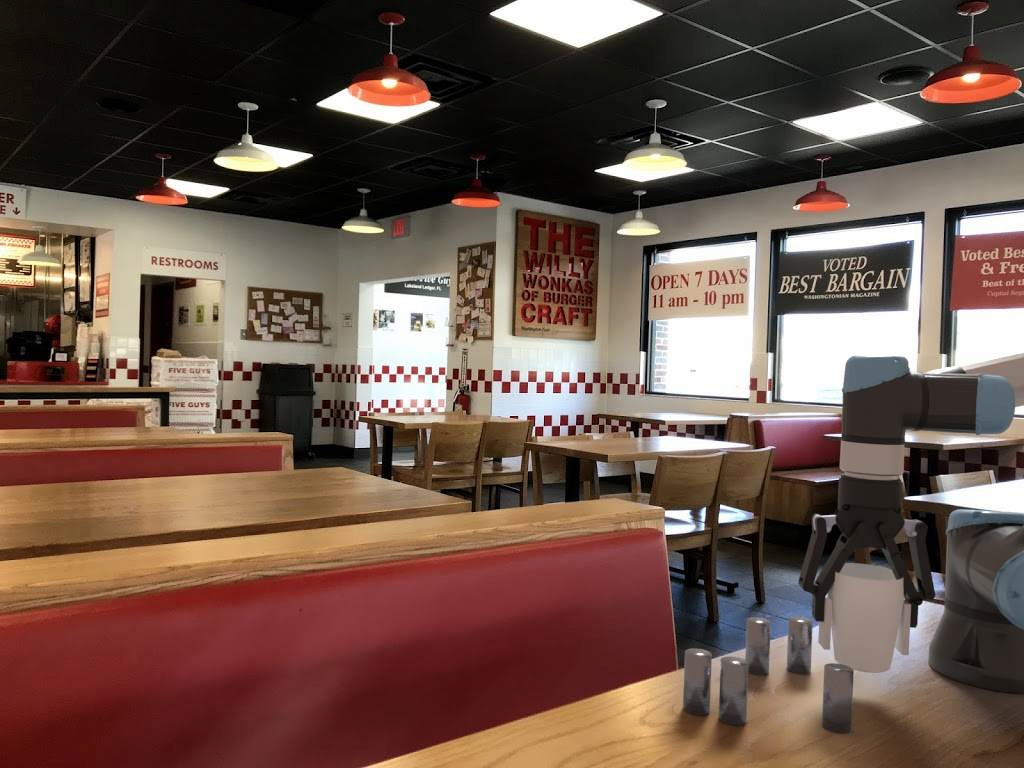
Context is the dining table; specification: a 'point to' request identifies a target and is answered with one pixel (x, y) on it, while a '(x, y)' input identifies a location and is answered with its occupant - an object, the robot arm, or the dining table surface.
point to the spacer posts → (757, 663)
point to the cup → (865, 616)
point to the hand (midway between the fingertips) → (862, 648)
